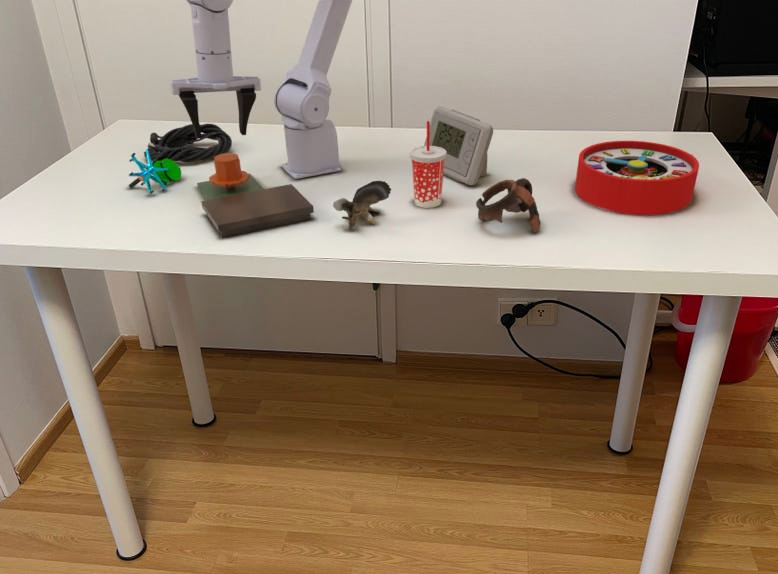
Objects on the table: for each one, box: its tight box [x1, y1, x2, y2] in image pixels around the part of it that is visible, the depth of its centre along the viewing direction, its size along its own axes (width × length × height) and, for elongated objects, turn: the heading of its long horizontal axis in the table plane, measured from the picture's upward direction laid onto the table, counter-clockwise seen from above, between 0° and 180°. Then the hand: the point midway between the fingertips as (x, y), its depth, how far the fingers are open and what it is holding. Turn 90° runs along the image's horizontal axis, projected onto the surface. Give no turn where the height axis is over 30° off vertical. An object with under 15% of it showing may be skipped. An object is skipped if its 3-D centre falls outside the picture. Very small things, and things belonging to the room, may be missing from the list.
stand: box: [200, 183, 315, 239], centre depth 124 cm, size 16×11×2 cm
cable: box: [143, 123, 233, 163], centre depth 150 cm, size 17×14×4 cm
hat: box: [208, 152, 250, 186], centre depth 132 cm, size 7×7×4 cm
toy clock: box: [574, 140, 700, 216], centre depth 129 cm, size 20×6×20 cm
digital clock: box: [423, 105, 494, 186], centre depth 137 cm, size 16×9×11 cm, turn 23°
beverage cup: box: [409, 120, 446, 209], centre depth 125 cm, size 6×6×14 cm
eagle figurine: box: [332, 180, 392, 231], centre depth 121 cm, size 8×7×9 cm
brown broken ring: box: [475, 177, 541, 234], centre depth 120 cm, size 12×10×8 cm
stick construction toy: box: [128, 149, 182, 195], centre depth 136 cm, size 12×7×8 cm
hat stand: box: [196, 173, 264, 200], centre depth 132 cm, size 10×10×6 cm
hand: (220, 135), depth 128 cm, fingers open, 7 cm apart
